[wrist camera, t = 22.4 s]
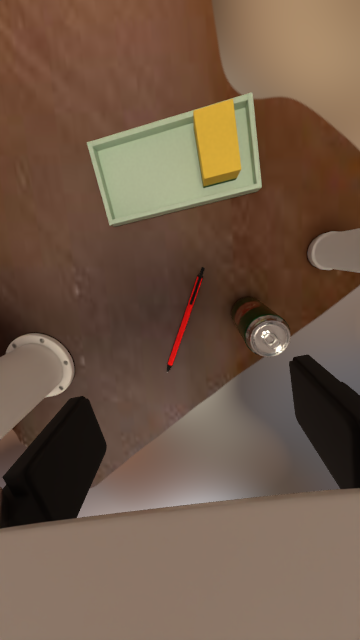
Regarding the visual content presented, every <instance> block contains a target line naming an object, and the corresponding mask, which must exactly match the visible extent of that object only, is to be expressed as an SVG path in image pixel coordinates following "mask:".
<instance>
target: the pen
mask: <svg viewBox="0 0 360 640" xmlns="http://www.w3.org/2000/svg"><path fill="white" fill-rule="evenodd" d="M203 271H204V268H203V267H202V269H201V272H200V275H198V276H197V279H196V282H195V285H194V288H193V291H192V294H191V296H190V299H189V302H188V305H187V308H186V311H185V314H184V317H183V320H182V323H181V326H180V329H179V332H178V335H177V337H176V340H175V343H174V346H173V349H172V352H171V355H170V358H169V361H168V365H167V373H168V371H169V370H170V368H171V367H172V365H173V362H174V359H175V356H176V354H177V351H178V348H179V345H180V342H181V339H182V336H183V334H184V331H185V328H186V325H187V322H188V319H189V316H190V313H191V311H192V308H193V305H194V302H195V299H196V296H197V293H198V291H199V288H200V285H201V282H202V279H203V276H202V274H203Z"/></svg>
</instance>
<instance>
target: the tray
mask: <svg viewBox="0 0 360 640" xmlns="http://www.w3.org/2000/svg"><path fill="white" fill-rule="evenodd" d="M232 99H233V102H234V110H235V119H236V127H237V136H238V144H239V152H240V161H241V171H240V173H239V175H238V177H237V179H236V180H233V181H229V182H225V183H222V184H218V185H214V186H210V187H206V188H203V183H202V177H201V171H200V165H199V159H198V153H197V147H196V140H195V134H194V121H193V111H194V110H193V111H189V112H186V113H183V114H179V115H176V116H173V117H170V118H166V119H163V120H160V121H156V122H153V123H150V124H147V125H143V126H140V127H137V128H133V129H130V130H127V131H124V132H120V133H117V134H114V135H110V136H107V137H104V138H101V139H97V140H94V141H90V142H87V145H88V149H89V152H90V156H91V159H92V163H93V167H94V170H95V174H96V178H97V181H98V185H99V188H100V192H101V196H102V199H103V203H104V207H105V210H106V214H107V217H108V221H109V225H111V226H114V227H116V226H120V225H124V224H128V223H132V222H136V221H140V220H144V219H148V218H152V217H156V216H160V215H164V214H168V213H172V212H176V211H180V210H184V209H188V208H192V207H196V206H201V205H205V204H209V203H213V202H217V201H221V200H225V199H229V198H233V197H237V196H241V195H245V194H249V193H253V192H257V191H258V190H259V189H260V188H261V187H262V184H261V174H260V164H259V154H258V144H257V134H256V124H255V114H254V104H253V94H252V92H251V93H248V94H245V95H242V96H239V97H235V98H232ZM229 100H230V99H229ZM225 101H227V100H225ZM222 102H223V101H222ZM219 103H220V102H219ZM216 104H217V103H216ZM212 105H214V104H212ZM209 106H210V105H209ZM206 107H207V106H206ZM202 108H204V107H202ZM199 109H200V108H199ZM196 110H197V109H196Z"/></svg>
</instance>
